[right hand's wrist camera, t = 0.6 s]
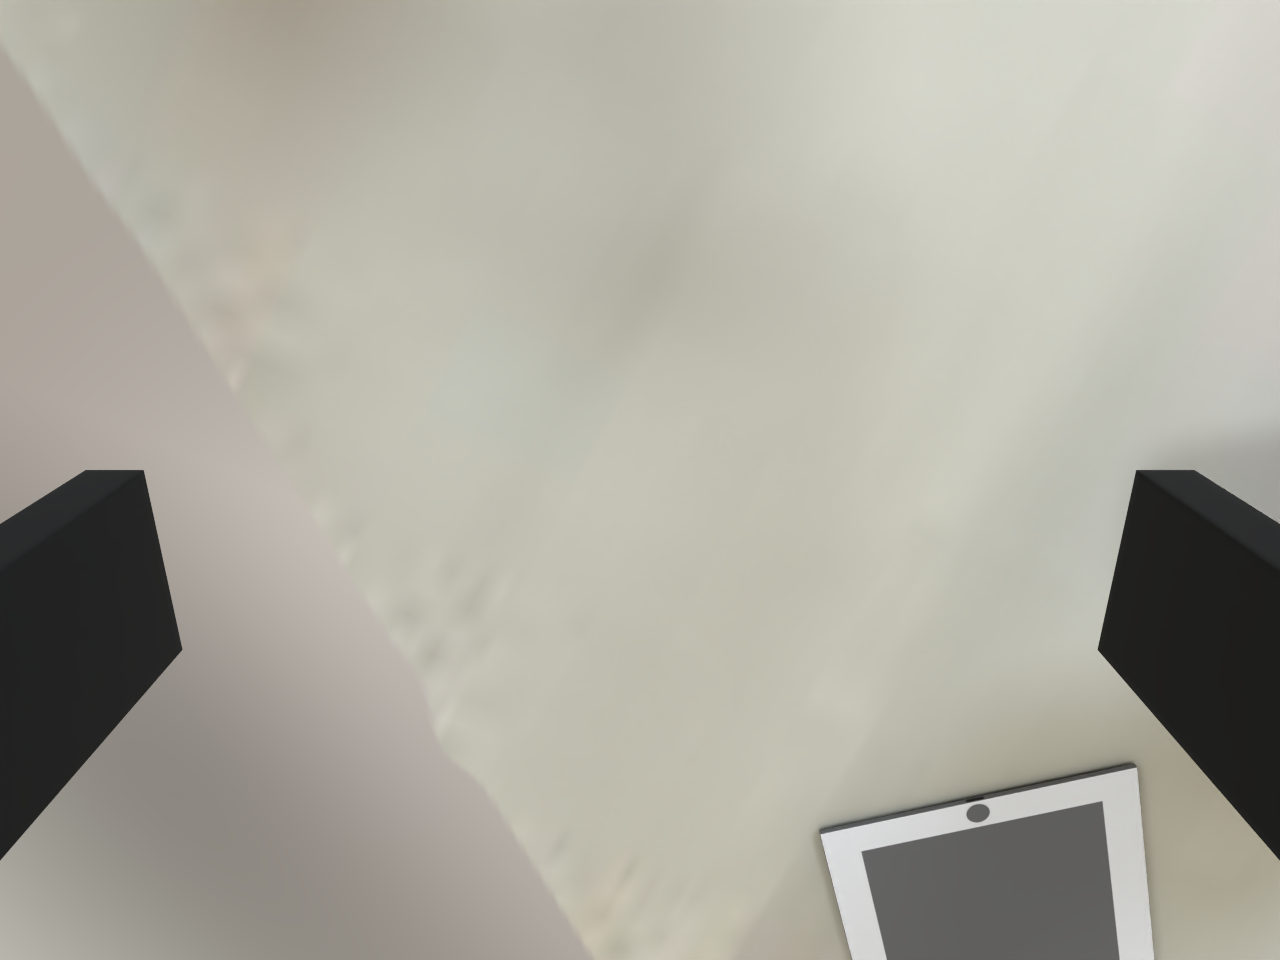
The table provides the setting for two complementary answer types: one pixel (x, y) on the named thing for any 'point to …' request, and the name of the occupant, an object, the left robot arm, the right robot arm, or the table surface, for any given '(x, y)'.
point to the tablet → (1000, 876)
